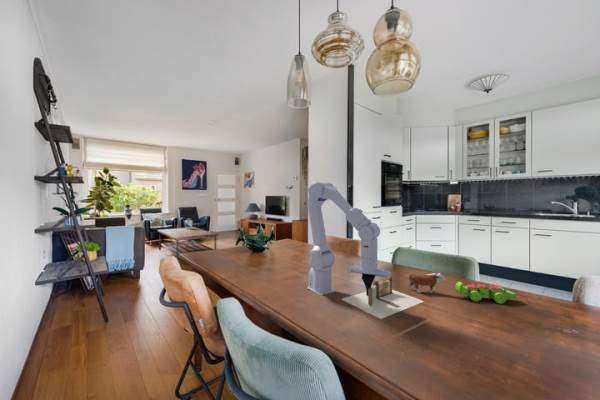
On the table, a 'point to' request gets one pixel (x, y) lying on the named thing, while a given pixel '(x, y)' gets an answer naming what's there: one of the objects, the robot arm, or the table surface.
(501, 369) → the table surface
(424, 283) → the bull figurine
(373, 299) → the hinged panel
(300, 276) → the table surface
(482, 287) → the toy crocodile
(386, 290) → the fixed fence
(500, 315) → the table surface
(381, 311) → the board
